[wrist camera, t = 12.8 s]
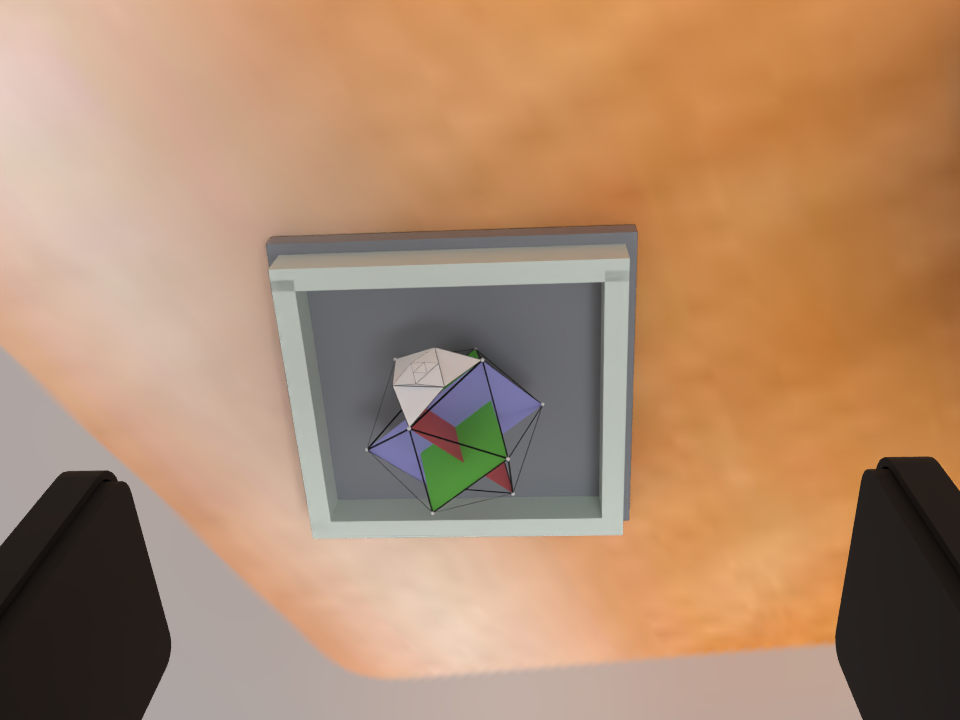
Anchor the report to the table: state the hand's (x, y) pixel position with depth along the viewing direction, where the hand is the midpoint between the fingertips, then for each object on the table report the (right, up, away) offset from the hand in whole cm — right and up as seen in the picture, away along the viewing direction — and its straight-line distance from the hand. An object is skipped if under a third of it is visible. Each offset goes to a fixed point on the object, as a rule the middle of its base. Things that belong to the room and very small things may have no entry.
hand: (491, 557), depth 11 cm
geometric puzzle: (-1, +1, +30) cm, 30 cm away
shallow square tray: (-1, +2, +31) cm, 31 cm away
